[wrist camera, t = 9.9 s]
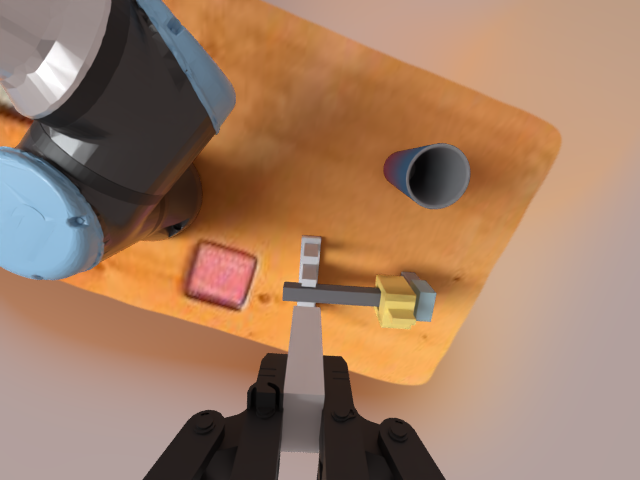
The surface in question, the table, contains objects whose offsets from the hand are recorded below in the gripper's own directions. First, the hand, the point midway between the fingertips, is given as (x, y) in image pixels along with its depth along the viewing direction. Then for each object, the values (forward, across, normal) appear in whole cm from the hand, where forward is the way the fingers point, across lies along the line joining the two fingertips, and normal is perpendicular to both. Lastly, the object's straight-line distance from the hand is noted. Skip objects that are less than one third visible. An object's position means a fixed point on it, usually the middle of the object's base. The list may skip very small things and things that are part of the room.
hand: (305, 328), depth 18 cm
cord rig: (+32, +8, -10) cm, 35 cm away
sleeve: (+28, +13, -10) cm, 32 cm away
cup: (+33, +13, +8) cm, 36 cm away
